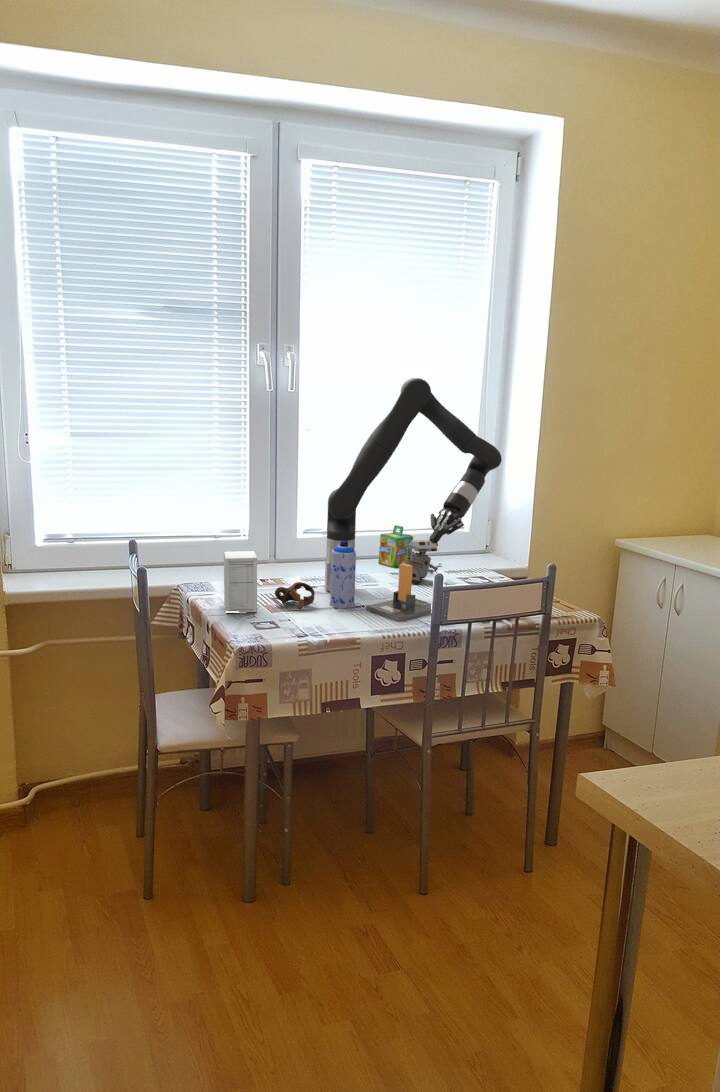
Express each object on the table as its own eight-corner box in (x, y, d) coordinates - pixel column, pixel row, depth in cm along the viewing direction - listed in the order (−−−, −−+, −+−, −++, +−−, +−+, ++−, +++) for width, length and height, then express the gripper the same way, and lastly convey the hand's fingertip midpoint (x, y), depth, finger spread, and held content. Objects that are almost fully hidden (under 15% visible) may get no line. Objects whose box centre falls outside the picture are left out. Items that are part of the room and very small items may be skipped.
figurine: (436, 586, 274) (438, 543, 271) (403, 583, 277) (405, 540, 274) (440, 580, 282) (443, 538, 279) (408, 577, 285) (410, 535, 282)
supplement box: (255, 604, 245) (255, 550, 241) (257, 613, 236) (258, 557, 232) (223, 605, 243) (223, 550, 239) (224, 614, 234) (224, 557, 230)
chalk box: (377, 563, 304) (379, 525, 301) (395, 560, 310) (396, 523, 307) (395, 568, 298) (397, 529, 295) (412, 565, 304) (414, 526, 301)
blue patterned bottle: (357, 602, 251) (360, 539, 247) (351, 609, 244) (353, 544, 239) (333, 600, 253) (335, 537, 249) (326, 606, 245) (328, 542, 241)
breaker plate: (408, 601, 255) (409, 584, 254) (440, 611, 245) (442, 594, 244) (366, 610, 243) (366, 592, 242) (398, 621, 233) (399, 603, 232)
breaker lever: (402, 602, 245) (403, 563, 243) (410, 604, 243) (412, 565, 240) (397, 603, 244) (399, 563, 242) (406, 606, 241) (408, 566, 239)
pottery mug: (306, 601, 252) (315, 582, 248) (309, 622, 245) (318, 603, 240) (269, 593, 248) (278, 574, 243) (271, 614, 241) (280, 595, 236)
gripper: (439, 489, 255) (411, 531, 250) (471, 494, 246) (442, 538, 240) (450, 504, 260) (422, 545, 254) (482, 509, 250) (453, 553, 245)
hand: (432, 541), depth 247 cm, fingers closed
